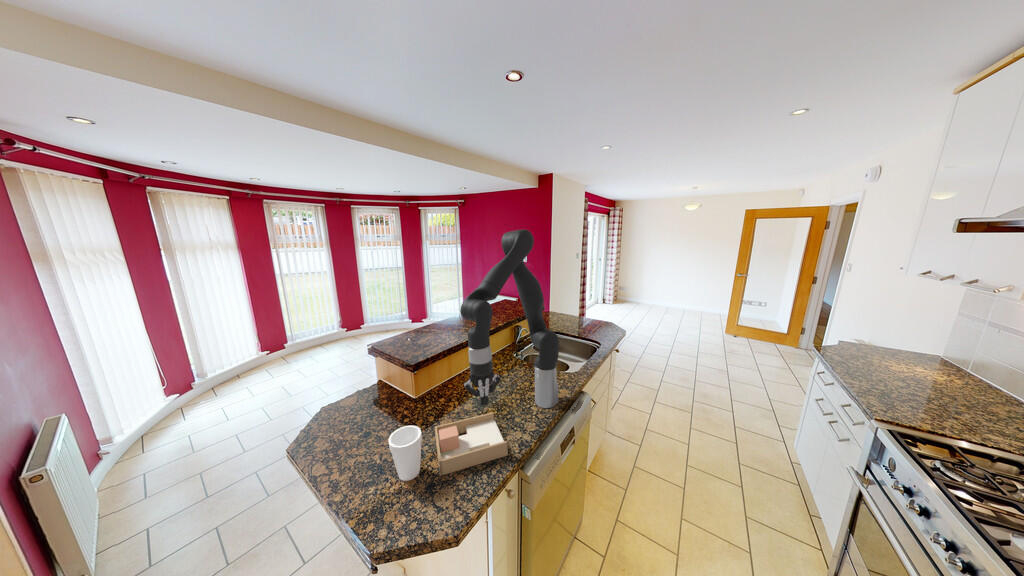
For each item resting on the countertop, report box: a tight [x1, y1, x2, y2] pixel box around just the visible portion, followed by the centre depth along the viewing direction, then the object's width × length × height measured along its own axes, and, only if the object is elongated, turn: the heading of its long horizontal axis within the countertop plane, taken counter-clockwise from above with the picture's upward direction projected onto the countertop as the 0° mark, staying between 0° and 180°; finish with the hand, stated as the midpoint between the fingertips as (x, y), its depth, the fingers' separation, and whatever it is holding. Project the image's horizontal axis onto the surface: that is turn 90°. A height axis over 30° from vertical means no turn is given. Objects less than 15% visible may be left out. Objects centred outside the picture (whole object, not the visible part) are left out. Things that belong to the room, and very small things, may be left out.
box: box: [434, 412, 509, 477], centre depth 97 cm, size 22×17×5 cm
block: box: [439, 426, 460, 453], centre depth 94 cm, size 6×5×5 cm
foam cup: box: [387, 425, 423, 482], centre depth 86 cm, size 10×9×13 cm
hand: (484, 404), depth 96 cm, fingers closed
